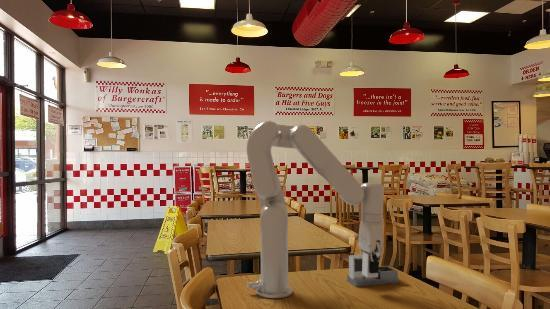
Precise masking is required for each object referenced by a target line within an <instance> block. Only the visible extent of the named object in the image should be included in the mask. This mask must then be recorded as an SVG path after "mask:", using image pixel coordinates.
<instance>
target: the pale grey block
mask: <svg viewBox="0 0 550 309" xmlns="http://www.w3.org/2000/svg"><path fill="white" fill-rule="evenodd" d="M374 255H376V254H373V257H374ZM369 261H371V259H370V253H368V252H366V251H363V258H362V274H363V275H364V276H366V277H378V273H369Z"/></svg>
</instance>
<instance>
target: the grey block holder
mask: <svg viewBox="0 0 550 309" xmlns="http://www.w3.org/2000/svg"><path fill="white" fill-rule="evenodd" d="M362 258H363V257H362V254H349V255H348V274H347V275H346V281H347V282H348V283H350V284H352V285H353V286H354V287H356V288H357V287H371V286H372V287H373V286H380V285H391V284H392V285H393V284H399V282H400V280H399V270H396V269H395V268H393V267H390V266H389V265H379V269H378V277H366V276H364V275H363V274H362Z"/></svg>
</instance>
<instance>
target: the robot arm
mask: <svg viewBox="0 0 550 309" xmlns="http://www.w3.org/2000/svg"><path fill="white" fill-rule="evenodd" d="M272 147H276V148H285V149H295V150H297V152H298V153H299V154H300V155H301V156H302V157H303V158H304V159H305V162H307V163H308V164H309V166H311V167H312V169H313V170H314V171H315V172H316V173H317V174H318V175H320V176H321V178H323V179H324V180H325V181H326V182H328V184H329V185H330V186H331V187H332V188H333V189H334V190H335V192H336V193H338V196H339V198H340V200H341V201H343V202H344V203H346V204H348V205H351V206H357V205H359V204H360V223H359V230H358V239H357V240H358V242H357V247H358V248H359V249H360V250H361V255H362V257H363V251H366V252H368V253H370V259H371V261H369V273H378V269H379V266H380V265H379V263H380V259H381V258H382V256H383V248H384V235H383V232H384V231H383V221H384V216H383V214H384V186H383V184H382V183H378V182H364V183H363V182H359V181H357V179H356V178H355V176H353V174H351V172H350V171H349V170H348V169H347V168H346V167H345V166H344V165H343V164H342V163H341V162H340V160H339V159H338V158H337V156H336V155H335V154H334V153H333V152H332V151H331V150H330V149H329V147H327V146H326V145H325V144H324V142H323V141H322V140H321V139H320V137H319V136H318V135H317V134H316V133H315V132H314V131H313V130H312V128H310V127H309V126H308V125H306V124H297V125H296V126H295V125H285V124H278V123H277V122H275V121H272V120H265V121H263V122H261V123H260V124H257V125H256V127H255V128H253V130H251V133H250V134H249V136H248V139H247V143H246V156H247V160H248V164H249V165H248V166H249V170H250V171H249V172H250V175H251V178H252V184H253V190H254V193H255V194H256V195H257V198H258V199H257V200H258V203H259V207H260V210H261V211H260V214H259V215H260V216H259V229H260V230H259V231H260V277H259V278H258V280H256V281H252V282H249V281H248V282H247V283H246V284H247V289H252V290H256V294H257V295H258V296H259V297H263V298H268V299H281V298H286V297H289V296H291V295H292V294H293V288H292V286H289V246H288V245H289V243H288V241H289V240H288V238H289V236H288V235H289V226H288V225H289V215H288V214H289V213H288V208H287V204H286V201H285V200H286V199H285V195H284V192H283V187H282V184H281V183H282V182H281V180H280V177H279V176H278V175H277V172H276V168H275V165H274V159H273V156H272ZM373 254H376V255H374V257H373Z"/></svg>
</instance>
